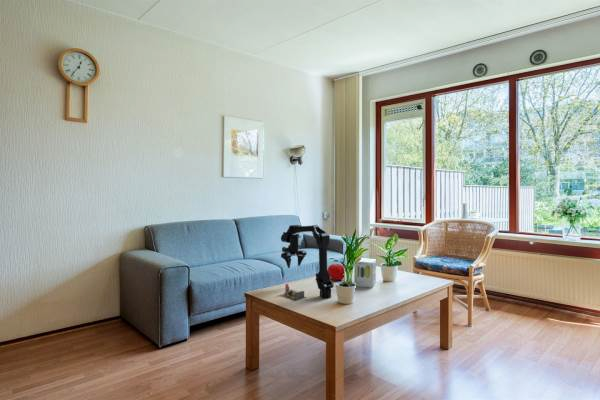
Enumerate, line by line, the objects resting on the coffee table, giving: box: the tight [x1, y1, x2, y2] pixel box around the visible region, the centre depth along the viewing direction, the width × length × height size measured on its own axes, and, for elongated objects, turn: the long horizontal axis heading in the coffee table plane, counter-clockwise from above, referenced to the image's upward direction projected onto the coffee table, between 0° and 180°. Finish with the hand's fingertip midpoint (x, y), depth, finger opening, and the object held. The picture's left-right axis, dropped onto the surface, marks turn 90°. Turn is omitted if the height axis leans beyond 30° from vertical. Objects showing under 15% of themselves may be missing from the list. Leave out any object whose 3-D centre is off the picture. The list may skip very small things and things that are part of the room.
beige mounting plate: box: [278, 290, 307, 302], centre depth 223 cm, size 14×10×5 cm
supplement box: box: [353, 257, 377, 289], centre depth 254 cm, size 13×13×18 cm
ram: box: [284, 283, 295, 295], centre depth 226 cm, size 5×5×6 cm
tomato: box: [327, 263, 345, 281], centre depth 267 cm, size 12×13×12 cm
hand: (293, 267), depth 242 cm, fingers open, 9 cm apart
